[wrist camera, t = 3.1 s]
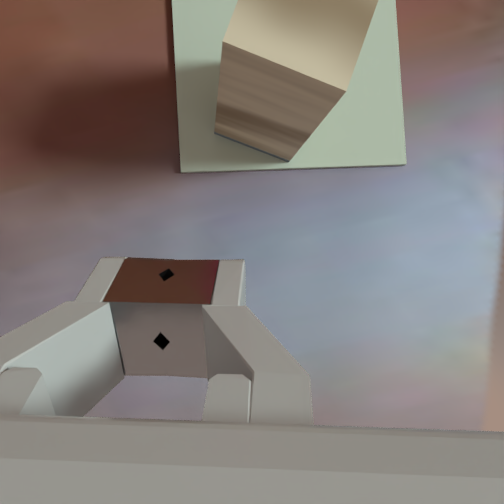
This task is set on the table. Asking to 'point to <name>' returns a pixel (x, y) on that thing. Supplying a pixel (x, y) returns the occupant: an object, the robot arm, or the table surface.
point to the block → (286, 69)
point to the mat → (330, 129)
